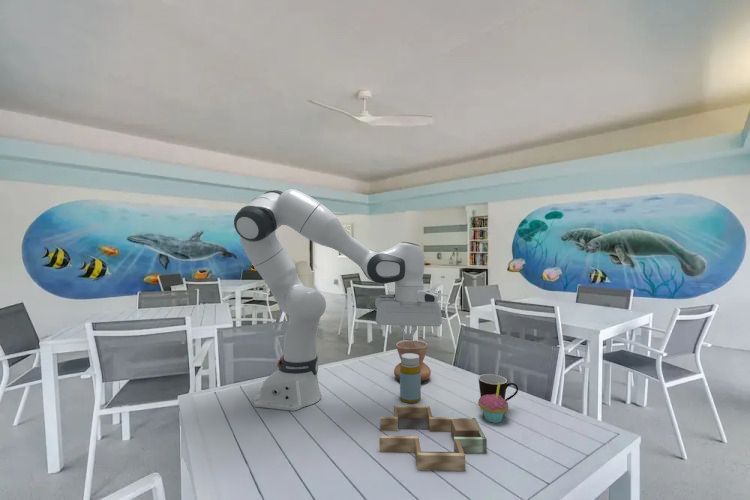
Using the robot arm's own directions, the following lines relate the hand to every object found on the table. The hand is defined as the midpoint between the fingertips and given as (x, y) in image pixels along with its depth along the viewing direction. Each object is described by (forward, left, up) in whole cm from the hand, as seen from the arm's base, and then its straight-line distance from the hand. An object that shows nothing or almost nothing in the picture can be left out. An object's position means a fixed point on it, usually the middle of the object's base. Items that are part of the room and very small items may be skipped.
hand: (408, 339), depth 105 cm
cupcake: (+25, -1, -24) cm, 35 cm away
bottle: (+1, +12, -24) cm, 27 cm away
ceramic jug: (+3, +30, -24) cm, 39 cm away
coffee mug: (+28, +4, -24) cm, 37 cm away
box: (+4, -13, -24) cm, 27 cm away
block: (+14, -13, -24) cm, 31 cm away
